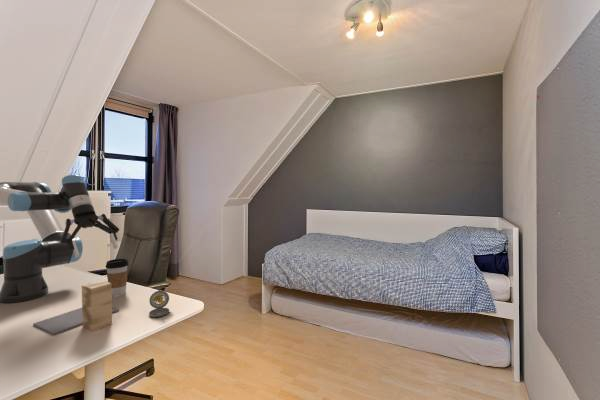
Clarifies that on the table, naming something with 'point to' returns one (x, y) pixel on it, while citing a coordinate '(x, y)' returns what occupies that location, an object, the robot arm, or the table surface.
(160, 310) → the pocket watch
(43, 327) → the rubber mat
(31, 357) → the table surface
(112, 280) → the coffee cup
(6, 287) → the robot arm
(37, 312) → the table surface
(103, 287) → the oak block
